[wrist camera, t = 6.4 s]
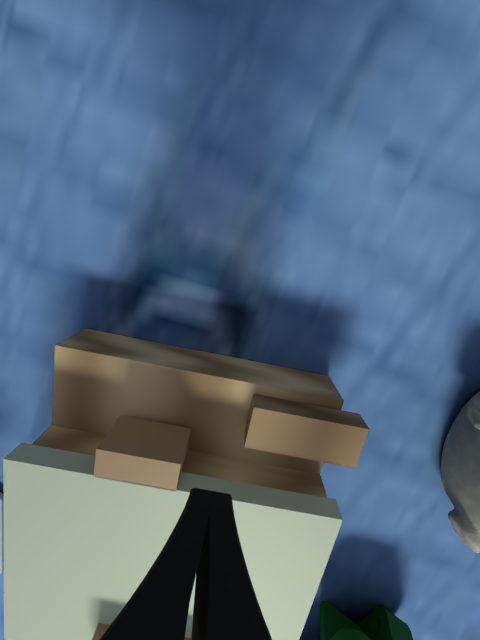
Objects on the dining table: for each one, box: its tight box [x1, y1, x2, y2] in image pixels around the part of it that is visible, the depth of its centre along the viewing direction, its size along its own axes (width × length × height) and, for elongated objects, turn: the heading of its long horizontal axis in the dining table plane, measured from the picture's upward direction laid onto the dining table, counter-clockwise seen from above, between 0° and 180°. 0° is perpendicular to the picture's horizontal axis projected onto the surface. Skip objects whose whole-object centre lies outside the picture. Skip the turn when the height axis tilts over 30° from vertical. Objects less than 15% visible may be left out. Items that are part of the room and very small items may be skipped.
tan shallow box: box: [32, 329, 344, 498], centre depth 19 cm, size 16×17×5 cm
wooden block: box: [244, 394, 369, 468], centre depth 16 cm, size 6×2×1 cm, turn 79°
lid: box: [3, 415, 343, 640], centre depth 16 cm, size 17×14×5 cm
